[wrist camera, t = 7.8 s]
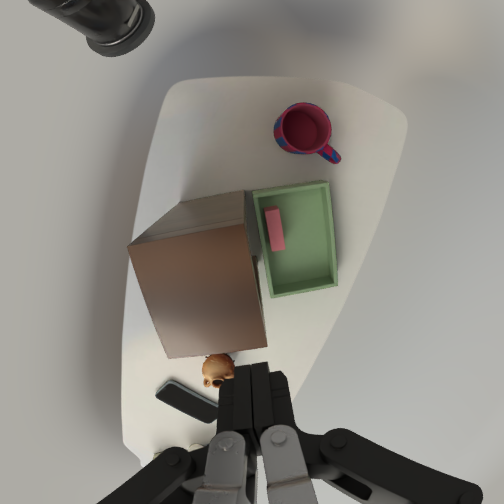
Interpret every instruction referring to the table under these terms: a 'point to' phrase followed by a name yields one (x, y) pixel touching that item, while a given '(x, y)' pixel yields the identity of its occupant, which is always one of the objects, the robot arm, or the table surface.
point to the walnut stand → (201, 278)
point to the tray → (299, 238)
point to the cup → (305, 131)
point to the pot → (217, 369)
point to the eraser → (274, 228)
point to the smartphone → (188, 402)
